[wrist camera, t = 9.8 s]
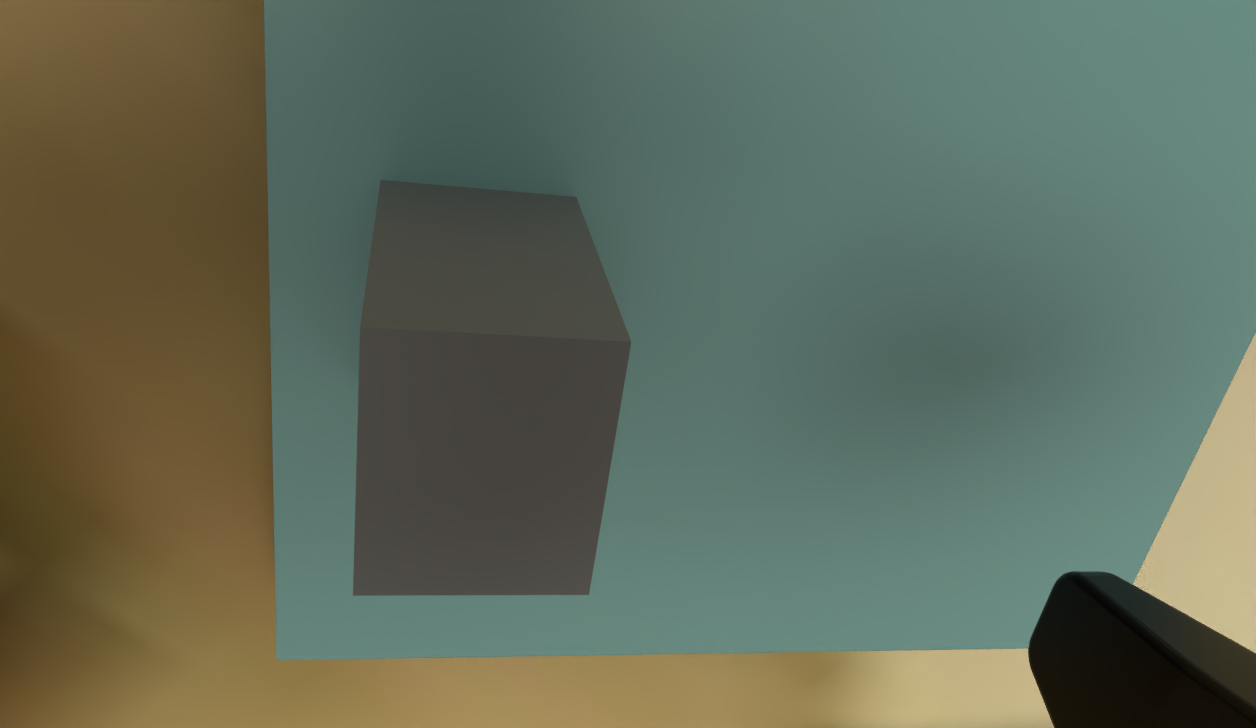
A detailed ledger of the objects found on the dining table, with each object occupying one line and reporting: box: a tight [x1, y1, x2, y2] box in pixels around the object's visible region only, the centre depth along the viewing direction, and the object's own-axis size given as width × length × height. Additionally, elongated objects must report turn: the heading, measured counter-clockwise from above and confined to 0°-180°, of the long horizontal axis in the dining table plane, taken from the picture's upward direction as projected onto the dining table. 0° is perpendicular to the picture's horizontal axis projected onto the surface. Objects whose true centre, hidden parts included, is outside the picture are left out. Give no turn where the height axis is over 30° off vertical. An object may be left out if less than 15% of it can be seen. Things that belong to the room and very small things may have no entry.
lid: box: [264, 0, 1256, 660], centre depth 13 cm, size 15×13×6 cm
